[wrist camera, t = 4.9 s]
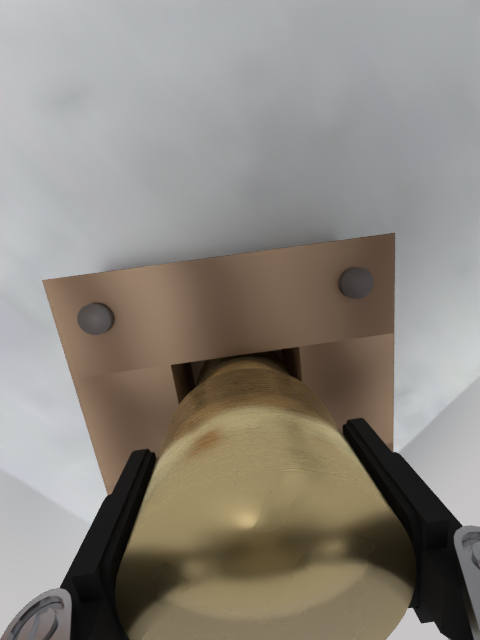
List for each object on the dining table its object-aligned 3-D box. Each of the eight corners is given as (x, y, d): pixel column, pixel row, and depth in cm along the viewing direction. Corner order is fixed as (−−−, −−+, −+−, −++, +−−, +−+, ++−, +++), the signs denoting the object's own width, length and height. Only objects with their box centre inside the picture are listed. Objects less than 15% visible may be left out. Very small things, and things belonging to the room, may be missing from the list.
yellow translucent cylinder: (295, 323, 15) (422, 448, 5) (304, 427, 17) (412, 669, 7) (175, 339, 15) (76, 498, 5) (196, 442, 17) (151, 711, 7)
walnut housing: (339, 241, 18) (402, 231, 11) (347, 442, 22) (398, 519, 15) (103, 273, 17) (34, 281, 11) (153, 471, 21) (122, 562, 15)
